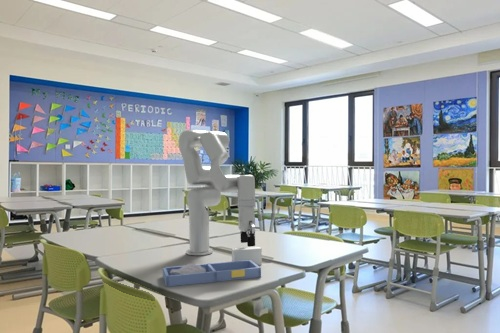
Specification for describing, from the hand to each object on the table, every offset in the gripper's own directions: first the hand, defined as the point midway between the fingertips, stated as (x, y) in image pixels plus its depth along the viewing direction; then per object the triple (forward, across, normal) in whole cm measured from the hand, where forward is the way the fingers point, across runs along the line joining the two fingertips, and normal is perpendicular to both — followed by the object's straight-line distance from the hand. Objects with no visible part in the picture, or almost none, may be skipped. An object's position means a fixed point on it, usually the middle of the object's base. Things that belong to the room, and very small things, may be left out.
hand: (247, 244), depth 164 cm
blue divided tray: (+9, +12, -18) cm, 24 cm away
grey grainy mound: (+9, +12, -27) cm, 31 cm away
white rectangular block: (+9, -1, 0) cm, 9 cm away
